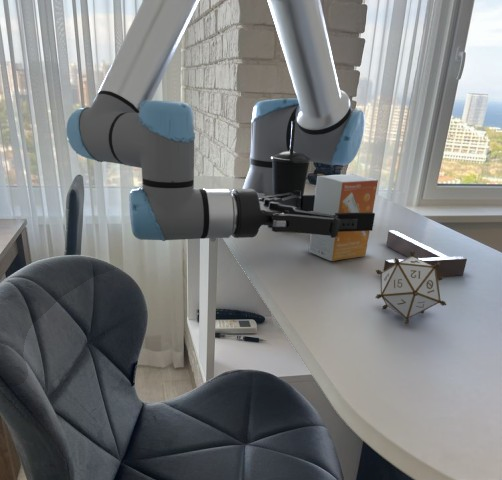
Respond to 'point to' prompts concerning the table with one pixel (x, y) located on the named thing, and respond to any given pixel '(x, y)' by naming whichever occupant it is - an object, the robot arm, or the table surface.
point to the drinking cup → (289, 169)
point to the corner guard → (424, 255)
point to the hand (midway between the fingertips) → (352, 211)
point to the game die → (410, 287)
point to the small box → (342, 201)
